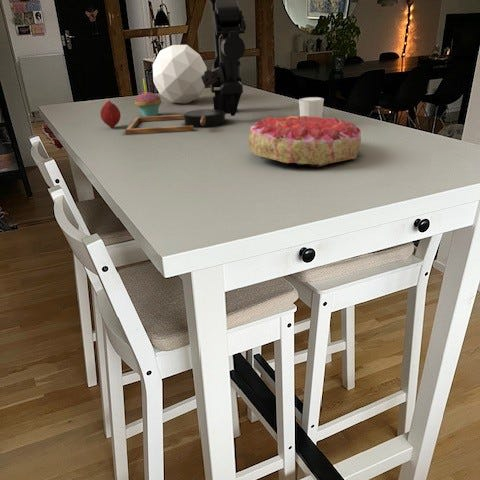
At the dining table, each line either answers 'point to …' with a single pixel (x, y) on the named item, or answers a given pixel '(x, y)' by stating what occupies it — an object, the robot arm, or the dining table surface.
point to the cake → (305, 140)
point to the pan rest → (131, 127)
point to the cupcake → (148, 102)
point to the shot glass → (311, 106)
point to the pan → (204, 118)
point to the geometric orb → (179, 74)
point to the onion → (110, 114)
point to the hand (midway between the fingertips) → (232, 115)
